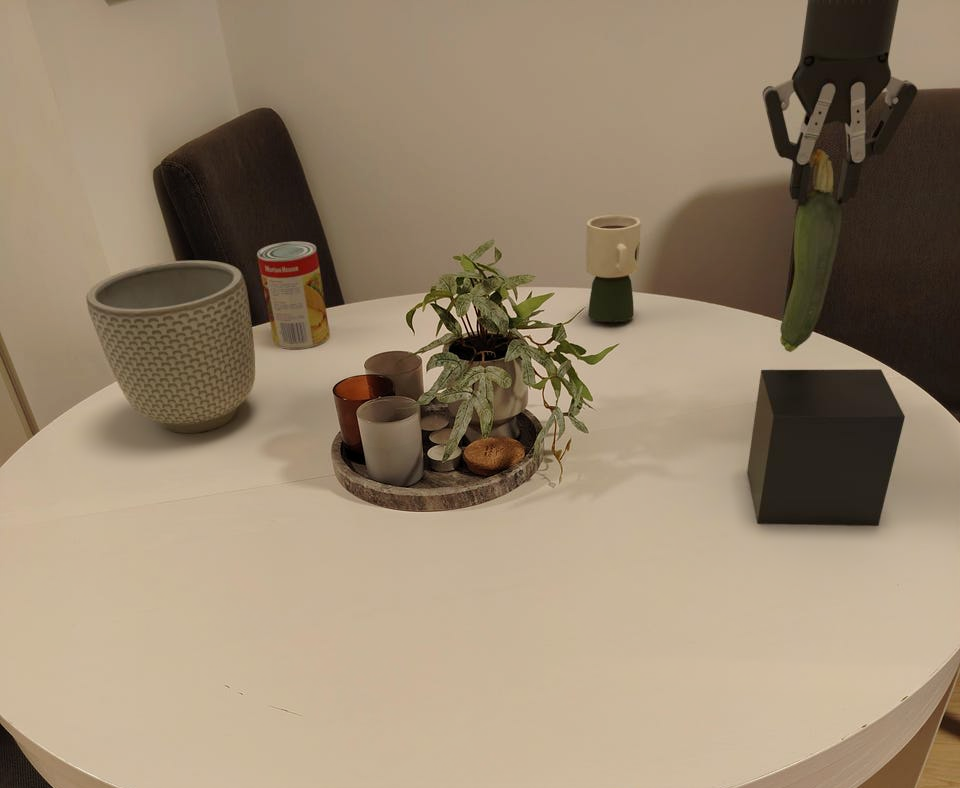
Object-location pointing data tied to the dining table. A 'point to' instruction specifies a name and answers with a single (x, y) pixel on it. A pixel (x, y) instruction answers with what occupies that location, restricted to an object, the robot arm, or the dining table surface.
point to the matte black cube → (823, 446)
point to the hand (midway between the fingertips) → (821, 202)
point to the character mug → (612, 265)
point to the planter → (178, 340)
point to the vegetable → (812, 255)
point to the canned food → (294, 294)
